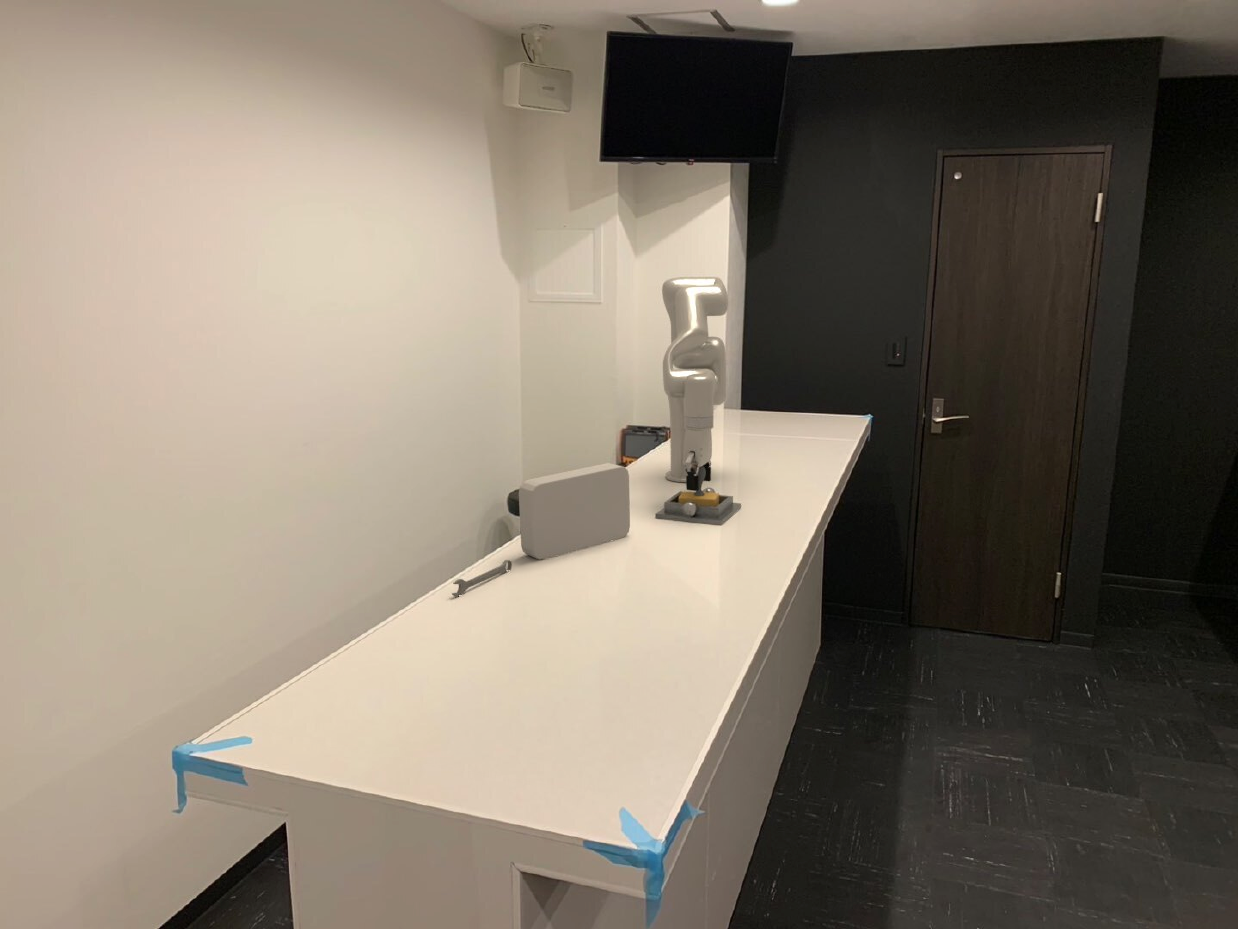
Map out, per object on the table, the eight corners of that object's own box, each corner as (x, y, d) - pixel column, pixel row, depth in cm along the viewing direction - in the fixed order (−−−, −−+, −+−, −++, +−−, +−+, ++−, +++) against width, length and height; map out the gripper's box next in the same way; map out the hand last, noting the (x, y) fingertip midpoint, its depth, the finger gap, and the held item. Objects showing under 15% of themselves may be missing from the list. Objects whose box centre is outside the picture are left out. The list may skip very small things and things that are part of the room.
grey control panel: (611, 529, 237) (609, 459, 232) (630, 536, 231) (629, 464, 227) (515, 554, 219) (512, 479, 215) (534, 562, 213) (531, 485, 209)
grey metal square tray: (678, 501, 260) (678, 484, 259) (741, 507, 253) (741, 490, 252) (655, 518, 245) (655, 500, 244) (721, 525, 238) (721, 507, 237)
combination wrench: (508, 555, 209) (448, 581, 192) (512, 556, 208) (453, 583, 191) (508, 571, 210) (449, 599, 193) (513, 572, 209) (454, 600, 192)
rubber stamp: (719, 506, 250) (719, 462, 247) (715, 512, 245) (716, 467, 242) (682, 504, 253) (682, 461, 250) (678, 510, 247) (678, 466, 244)
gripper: (696, 414, 252) (696, 476, 257) (673, 427, 237) (673, 492, 241) (723, 416, 249) (722, 478, 254) (701, 429, 234) (701, 495, 238)
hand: (698, 485), depth 248 cm, fingers open, 9 cm apart
